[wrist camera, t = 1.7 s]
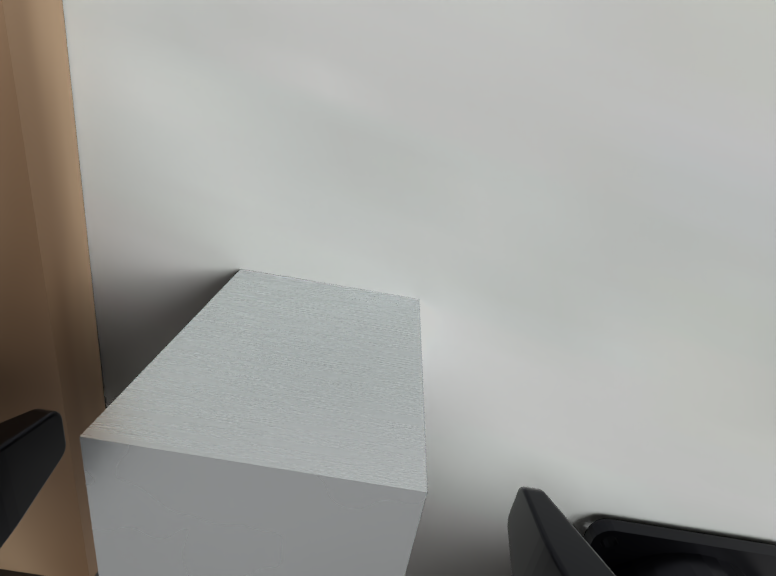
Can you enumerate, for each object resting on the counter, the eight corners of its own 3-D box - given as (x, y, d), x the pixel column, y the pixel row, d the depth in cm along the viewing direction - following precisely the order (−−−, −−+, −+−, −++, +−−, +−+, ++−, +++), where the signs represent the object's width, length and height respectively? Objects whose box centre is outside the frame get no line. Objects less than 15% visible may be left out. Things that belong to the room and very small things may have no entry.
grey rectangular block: (419, 298, 11) (427, 492, 6) (389, 437, 13) (374, 684, 8) (241, 268, 11) (79, 436, 6) (235, 412, 13) (108, 644, 8)
